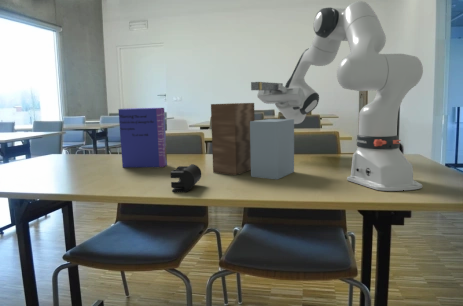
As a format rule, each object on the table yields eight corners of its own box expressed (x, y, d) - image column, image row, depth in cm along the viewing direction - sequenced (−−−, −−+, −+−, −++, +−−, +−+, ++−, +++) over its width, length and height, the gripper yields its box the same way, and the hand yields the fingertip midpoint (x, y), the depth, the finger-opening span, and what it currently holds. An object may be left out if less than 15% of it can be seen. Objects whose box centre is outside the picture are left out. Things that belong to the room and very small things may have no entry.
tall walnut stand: (233, 166, 144) (231, 103, 140) (255, 168, 139) (254, 102, 135) (213, 172, 132) (210, 104, 129) (236, 175, 127) (234, 103, 123)
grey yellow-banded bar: (275, 90, 155) (275, 83, 154) (283, 90, 153) (283, 83, 152) (250, 90, 136) (250, 82, 136) (258, 89, 135) (258, 81, 134)
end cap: (194, 193, 104) (193, 170, 103) (171, 192, 105) (169, 170, 104) (202, 184, 114) (201, 164, 113) (180, 184, 115) (179, 164, 114)
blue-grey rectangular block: (269, 169, 135) (268, 119, 133) (294, 171, 130) (294, 119, 127) (250, 176, 124) (249, 121, 121) (277, 179, 118) (276, 121, 116)
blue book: (167, 165, 150) (164, 107, 147) (164, 167, 146) (160, 107, 142) (127, 165, 152) (123, 108, 148) (122, 167, 147) (118, 108, 144)
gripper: (266, 96, 166) (253, 80, 155) (308, 95, 155) (297, 77, 144) (263, 108, 164) (250, 93, 153) (305, 108, 153) (294, 91, 142)
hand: (273, 85), depth 149 cm, fingers closed on grey yellow-banded bar, 3 cm apart
